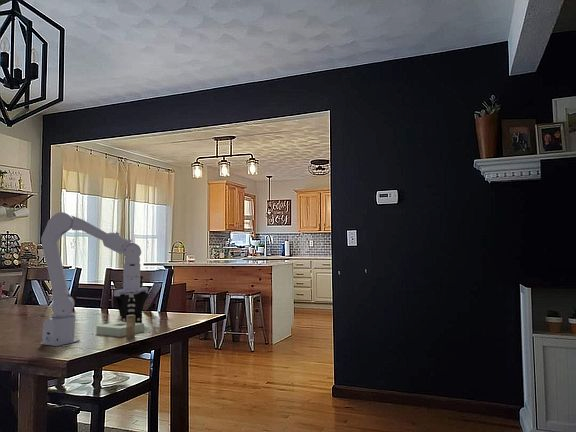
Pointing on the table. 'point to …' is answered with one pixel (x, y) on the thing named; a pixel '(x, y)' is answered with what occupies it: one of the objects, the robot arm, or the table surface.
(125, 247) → the robot arm
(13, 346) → the table surface
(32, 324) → the table surface
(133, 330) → the peg
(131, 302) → the spotted tube
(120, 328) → the wick holder
